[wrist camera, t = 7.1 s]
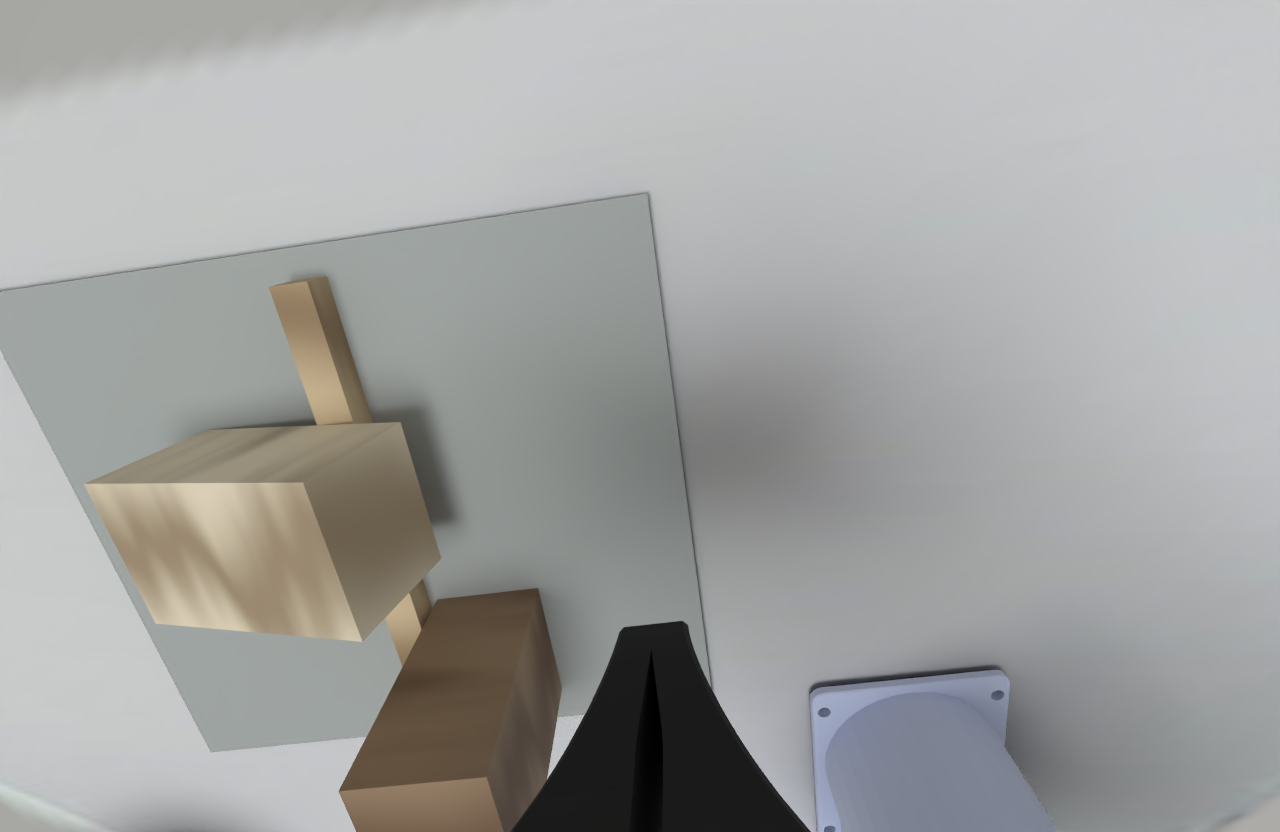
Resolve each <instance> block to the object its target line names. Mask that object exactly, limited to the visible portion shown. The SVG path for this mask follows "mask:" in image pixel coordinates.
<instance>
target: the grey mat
mask: <svg viewBox="0 0 1280 832" xmlns="http://www.w3.org/2000/svg"><path fill="white" fill-rule="evenodd" d="M323 276H327V278H328V281H329V285H330V288H331V291H332V294H333V297H334V300H335V304H336V307H337V310H338V313H339V316H340V319H341V322H342V326H343V329H344V332H345V335H346V338H347V341H348V345H349V348H350V351H351V354H352V357H353V360H354V363H355V367H356V370H357V373H358V376H359V379H360V382H361V386H362V389H363V392H364V395H365V398H366V401H367V404H368V408H369V411H370V414H371V417H372V420H373V423H389V422H401V426H402V429H403V432H404V436H405V439H406V442H407V446H408V449H409V452H410V456H411V459H412V462H413V466H414V469H415V472H416V476H417V479H418V482H419V486H420V489H421V492H422V496H423V499H424V502H425V506H426V509H427V512H428V516H429V519H430V522H431V526H432V529H433V532H434V536H435V539H436V542H437V546H438V549H439V552H440V556H441V560H440V561H439V562H438V563H437V564H436V565H435V566H434V567H433V568H432V569H431V570H430V571H429V572H428V573H427V574H426V575H425V577H424V578H423V581H424V584H425V587H426V591H427V594H428V597H429V600H430V603H431V606H432V608H433V606H434V604H435V602H436V601H437V599H445V598H454V597H463V596H471V595H480V594H489V593H498V592H506V591H515V590H524V589H533V588H538V590H539V594H540V598H541V602H542V606H543V611H544V615H545V619H546V623H547V627H548V631H549V636H550V640H551V644H552V648H553V652H554V657H555V661H556V665H557V669H558V673H559V677H560V682H561V686H562V692H561V698H560V704H559V710H558V716H557V717H563V716H573V715H583V714H586V712H587V710H588V708H589V706H590V703H591V701H592V699H593V697H594V695H595V693H596V691H597V688H598V686H599V684H600V682H601V680H602V678H603V675H604V673H605V670H606V668H607V666H608V663H609V661H610V658H611V655H612V653H613V650H614V647H615V644H616V641H617V638H618V635H619V632H620V631H621V630H622V629H623V628H624V627H630V626H639V625H648V624H657V623H666V622H676V621H683V622H685V623H686V624H688V627H689V633H690V637H691V641H692V644H693V647H694V650H695V653H696V656H697V658H698V661H699V663H700V665H701V668H702V670H703V672H704V674H705V677H706V679H707V681H708V683H709V685H710V687H711V682H710V674H709V666H708V658H707V651H706V643H705V635H704V628H703V620H702V612H701V604H700V597H699V589H698V581H697V574H696V566H695V558H694V550H693V543H692V535H691V527H690V520H689V512H688V504H687V497H686V489H685V481H684V473H683V466H682V458H681V450H680V443H679V435H678V427H677V419H676V412H675V404H674V396H673V389H672V381H671V373H670V365H669V358H668V350H667V342H666V335H665V327H664V319H663V311H662V304H661V296H660V288H659V281H658V273H657V265H656V257H655V250H654V242H653V234H652V227H651V219H650V211H649V203H648V196H647V194H640V195H634V196H627V197H621V198H614V199H607V200H601V201H594V202H588V203H581V204H574V205H568V206H561V207H555V208H548V209H541V210H535V211H528V212H522V213H515V214H508V215H502V216H495V217H489V218H482V219H475V220H469V221H462V222H456V223H449V224H442V225H436V226H429V227H423V228H416V229H409V230H403V231H396V232H390V233H383V234H376V235H370V236H363V237H357V238H350V239H344V240H337V241H330V242H324V243H317V244H311V245H304V246H297V247H291V248H284V249H278V250H271V251H264V252H258V253H251V254H245V255H238V256H231V257H225V258H218V259H212V260H205V261H198V262H192V263H185V264H179V265H172V266H165V267H159V268H152V269H146V270H139V271H132V272H126V273H119V274H113V275H106V276H99V277H93V278H86V279H80V280H73V281H66V282H60V283H53V284H47V285H40V286H33V287H27V288H20V289H14V290H7V291H0V350H1V352H2V354H3V356H4V358H5V360H6V362H7V364H8V366H9V368H10V370H11V371H12V373H13V375H14V377H15V379H16V381H17V383H18V385H19V387H20V389H21V391H22V392H23V394H24V396H25V398H26V400H27V402H28V404H29V406H30V408H31V410H32V412H33V413H34V415H35V417H36V419H37V421H38V423H39V425H40V427H41V429H42V431H43V433H44V434H45V436H46V438H47V440H48V442H49V444H50V446H51V448H52V450H53V452H54V454H55V455H56V457H57V459H58V461H59V463H60V465H61V467H62V469H63V471H64V473H65V475H66V477H67V478H68V480H69V482H70V484H71V486H72V488H73V490H74V492H75V494H76V496H77V498H78V499H79V501H80V503H81V505H82V507H83V509H84V511H85V513H86V515H87V517H88V519H89V520H90V522H91V524H92V526H93V528H94V530H95V532H96V534H97V536H98V538H99V540H100V541H101V543H102V545H103V547H104V549H105V551H106V553H107V555H108V557H109V559H110V561H111V562H112V564H113V566H114V568H115V570H116V572H117V574H118V576H119V578H120V580H121V582H122V583H123V585H124V587H125V589H126V591H127V593H128V595H129V597H130V599H131V601H132V603H133V604H134V606H135V608H136V610H137V612H138V614H139V616H140V618H141V620H142V622H143V624H144V625H145V627H146V629H147V631H148V633H149V635H150V637H151V639H152V641H153V643H154V645H155V647H156V648H157V650H158V652H159V654H160V656H161V658H162V660H163V662H164V664H165V666H166V668H167V669H168V671H169V673H170V675H171V677H172V679H173V681H174V683H175V685H176V687H177V689H178V690H179V692H180V694H181V696H182V698H183V700H184V702H185V704H186V706H187V708H188V710H189V711H190V713H191V715H192V717H193V719H194V721H195V723H196V725H197V727H198V729H199V731H200V732H201V734H202V736H203V738H204V740H205V742H206V744H207V746H208V748H209V750H210V752H218V751H228V750H238V749H248V748H258V747H267V746H277V745H287V744H297V743H307V742H317V741H327V740H336V739H346V738H356V737H366V736H367V735H368V733H369V731H370V729H371V727H372V726H373V724H374V722H375V720H376V718H377V716H378V714H379V712H380V710H381V708H382V706H383V704H384V702H385V700H386V698H387V696H388V694H389V692H390V690H391V688H392V686H393V685H394V683H395V681H396V679H397V677H398V675H399V673H400V671H401V669H402V665H401V662H400V659H399V656H398V653H397V650H396V648H395V645H394V642H393V639H392V636H391V633H390V631H389V628H388V625H387V622H386V619H384V620H383V621H382V622H381V623H380V624H379V625H378V626H377V627H376V628H375V629H374V630H373V631H372V632H371V633H370V634H369V636H368V637H367V638H366V639H365V640H364V641H363V642H358V641H347V640H335V639H324V638H313V637H301V636H290V635H279V634H267V633H256V632H244V631H233V630H222V629H210V628H199V627H187V626H176V625H165V624H156V623H155V621H154V619H153V617H152V616H151V614H150V612H149V610H148V608H147V606H146V604H145V602H144V600H143V598H142V596H141V594H140V592H139V590H138V588H137V586H136V584H135V583H134V581H133V579H132V577H131V575H130V573H129V571H128V569H127V567H126V565H125V563H124V561H123V559H122V557H121V555H120V553H119V551H118V550H117V548H116V546H115V544H114V542H113V540H112V538H111V536H110V534H109V532H108V530H107V528H106V526H105V524H104V522H103V520H102V518H101V517H100V515H99V513H98V511H97V509H96V507H95V505H94V503H93V501H92V499H91V497H90V495H89V493H88V491H87V489H86V487H85V485H84V483H87V482H89V481H91V480H94V479H96V478H98V477H101V476H103V475H105V474H107V473H110V472H112V471H114V470H117V469H119V468H121V467H123V466H126V465H128V464H130V463H133V462H135V461H137V460H140V459H142V458H144V457H146V456H149V455H151V454H153V453H156V452H158V451H160V450H162V449H165V448H167V447H169V446H172V445H174V444H176V443H179V442H181V441H183V440H185V439H188V438H190V437H192V436H195V435H197V434H199V433H201V432H204V431H206V430H216V429H241V428H265V427H290V426H315V425H317V423H316V420H315V418H314V415H313V412H312V409H311V406H310V403H309V400H308V398H307V395H306V392H305V389H304V386H303V383H302V381H301V378H300V375H299V372H298V369H297V366H296V364H295V361H294V358H293V355H292V352H291V349H290V347H289V344H288V341H287V338H286V335H285V332H284V329H283V327H282V324H281V321H280V318H279V315H278V312H277V310H276V307H275V304H274V301H273V298H272V295H271V293H270V290H269V287H270V286H274V285H278V284H282V283H286V282H290V281H296V280H303V279H310V278H317V277H323Z"/></svg>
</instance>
